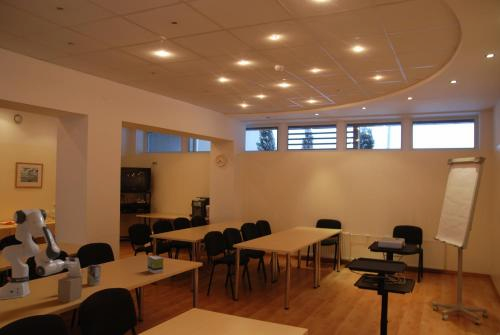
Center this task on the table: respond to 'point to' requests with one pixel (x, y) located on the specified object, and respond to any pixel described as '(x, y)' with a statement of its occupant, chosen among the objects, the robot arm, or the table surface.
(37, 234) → the robot arm
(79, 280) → the carton
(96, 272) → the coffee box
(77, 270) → the flap
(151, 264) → the tea box
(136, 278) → the table surface
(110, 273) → the table surface
